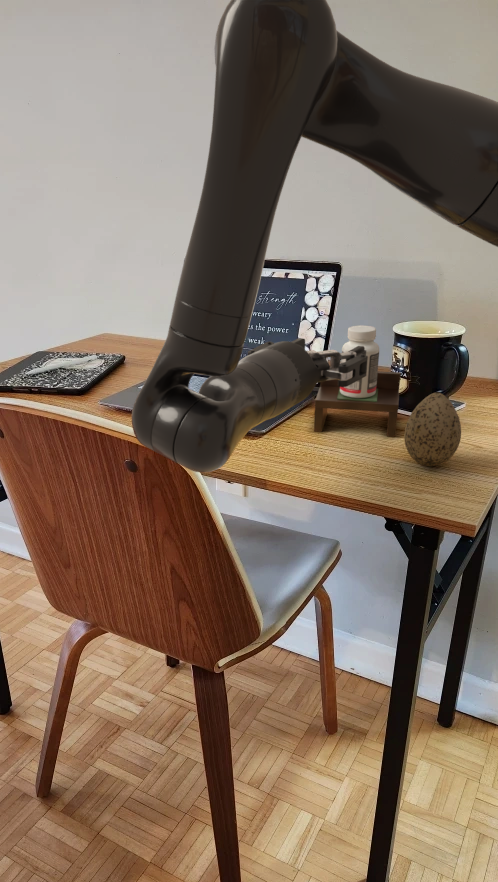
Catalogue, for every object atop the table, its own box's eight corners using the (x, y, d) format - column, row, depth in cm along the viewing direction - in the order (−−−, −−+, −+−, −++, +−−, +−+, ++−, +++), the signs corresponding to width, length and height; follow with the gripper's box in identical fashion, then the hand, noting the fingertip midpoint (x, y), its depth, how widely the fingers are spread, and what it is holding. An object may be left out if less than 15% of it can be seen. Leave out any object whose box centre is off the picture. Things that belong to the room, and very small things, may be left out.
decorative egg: (395, 469, 91) (403, 398, 87) (407, 450, 97) (415, 382, 92) (451, 479, 88) (462, 405, 84) (460, 458, 94) (470, 388, 90)
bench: (395, 418, 108) (400, 372, 105) (395, 437, 101) (400, 388, 98) (319, 413, 111) (321, 368, 108) (313, 431, 104) (316, 383, 101)
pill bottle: (366, 386, 106) (371, 322, 102) (382, 397, 102) (388, 331, 97) (333, 389, 105) (337, 325, 101) (348, 400, 101) (352, 334, 96)
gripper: (327, 357, 73) (385, 326, 85) (217, 342, 81) (284, 315, 93) (324, 423, 77) (380, 385, 89) (219, 403, 84) (283, 369, 96)
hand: (331, 349), depth 91 cm, fingers open, 8 cm apart
